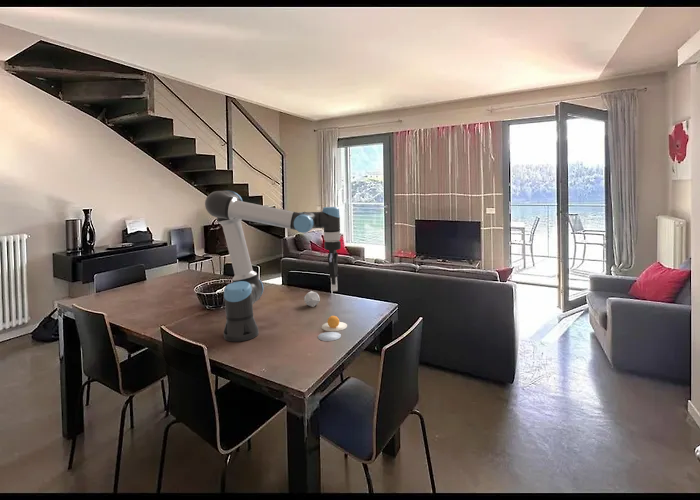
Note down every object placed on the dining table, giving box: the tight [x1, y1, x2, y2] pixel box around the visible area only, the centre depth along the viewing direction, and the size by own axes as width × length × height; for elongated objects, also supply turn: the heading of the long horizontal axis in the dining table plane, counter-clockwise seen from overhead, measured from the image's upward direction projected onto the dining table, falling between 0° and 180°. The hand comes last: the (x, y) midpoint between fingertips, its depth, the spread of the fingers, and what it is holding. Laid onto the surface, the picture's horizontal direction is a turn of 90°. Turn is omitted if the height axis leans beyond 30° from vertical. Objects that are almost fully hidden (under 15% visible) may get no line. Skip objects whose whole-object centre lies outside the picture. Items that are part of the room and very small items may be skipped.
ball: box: [326, 315, 340, 328], centre depth 178 cm, size 6×6×6 cm
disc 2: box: [317, 331, 342, 342], centre depth 167 cm, size 10×10×1 cm
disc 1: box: [321, 321, 348, 332], centre depth 179 cm, size 12×12×1 cm
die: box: [304, 290, 321, 308], centre depth 211 cm, size 8×9×10 cm
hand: (334, 290), depth 180 cm, fingers closed
